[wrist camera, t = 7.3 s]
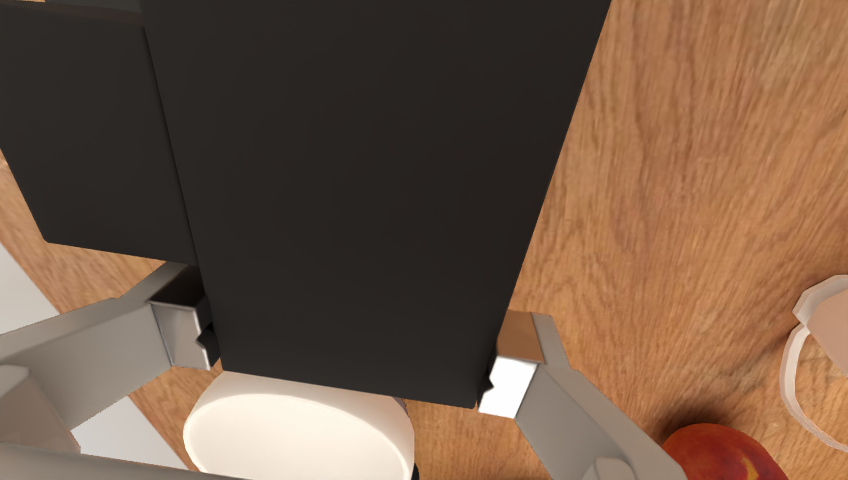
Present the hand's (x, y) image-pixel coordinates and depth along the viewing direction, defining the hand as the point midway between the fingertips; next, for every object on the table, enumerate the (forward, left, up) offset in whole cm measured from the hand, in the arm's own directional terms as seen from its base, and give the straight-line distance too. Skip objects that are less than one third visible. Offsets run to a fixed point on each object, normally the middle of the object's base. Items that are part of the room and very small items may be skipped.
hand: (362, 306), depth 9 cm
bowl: (+18, -4, -12) cm, 23 cm away
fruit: (+19, +26, -12) cm, 34 cm away
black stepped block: (-4, -1, -2) cm, 4 cm away
